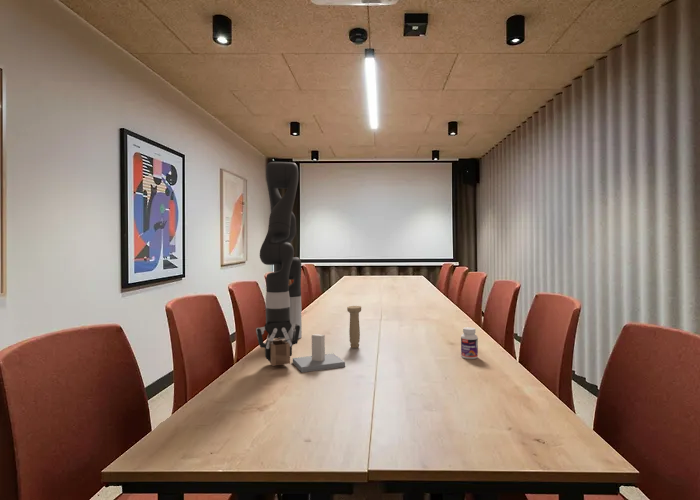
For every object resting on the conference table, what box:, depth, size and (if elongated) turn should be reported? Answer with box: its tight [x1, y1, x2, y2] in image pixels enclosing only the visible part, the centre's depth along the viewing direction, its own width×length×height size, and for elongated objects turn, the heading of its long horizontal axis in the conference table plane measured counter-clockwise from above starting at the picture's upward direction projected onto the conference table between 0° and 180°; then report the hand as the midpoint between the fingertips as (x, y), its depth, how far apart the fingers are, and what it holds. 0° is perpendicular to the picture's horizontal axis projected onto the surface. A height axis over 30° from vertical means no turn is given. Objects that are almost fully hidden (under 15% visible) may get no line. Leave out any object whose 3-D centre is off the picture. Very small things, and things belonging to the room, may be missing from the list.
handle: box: [346, 305, 362, 349], centre depth 152 cm, size 5×6×15 cm
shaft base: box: [292, 333, 346, 373], centre depth 130 cm, size 11×14×10 cm
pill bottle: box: [460, 326, 479, 360], centre depth 137 cm, size 5×5×10 cm
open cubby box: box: [268, 338, 291, 367], centre depth 129 cm, size 7×6×6 cm
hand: (278, 358), depth 129 cm, fingers closed on open cubby box, 5 cm apart
